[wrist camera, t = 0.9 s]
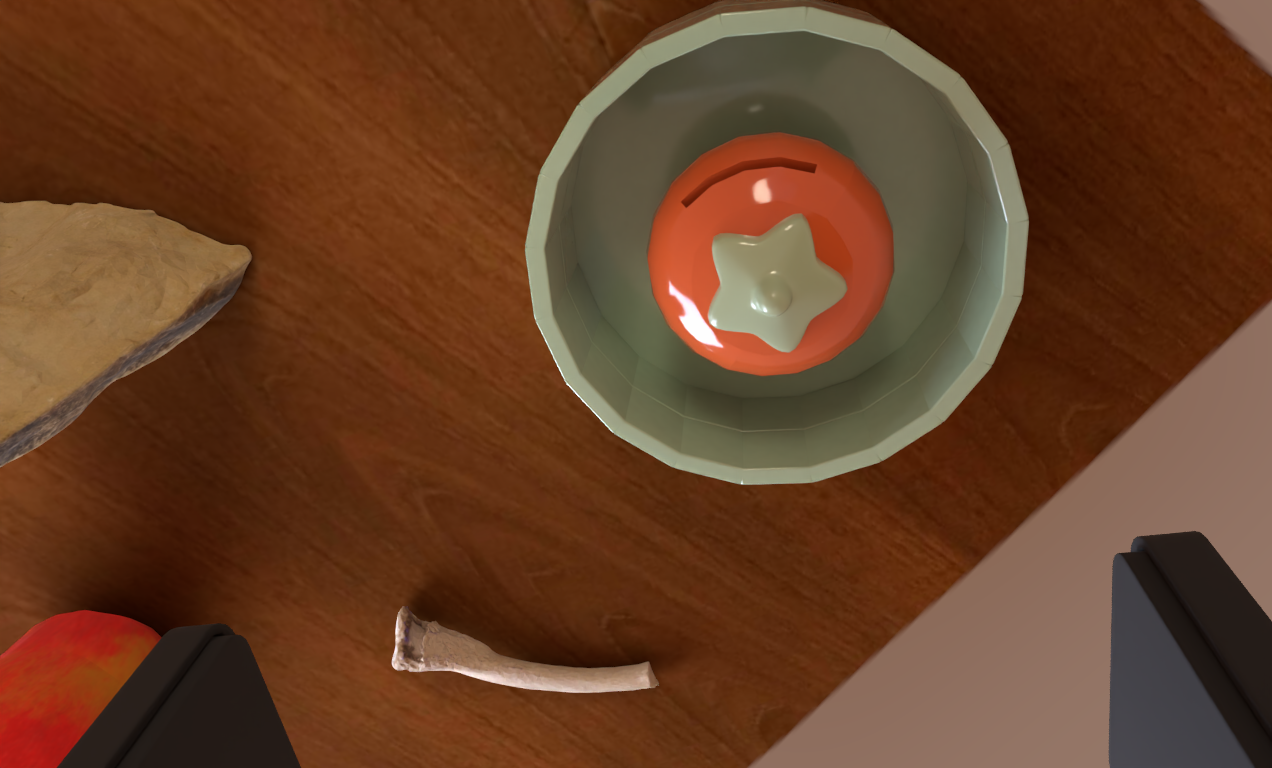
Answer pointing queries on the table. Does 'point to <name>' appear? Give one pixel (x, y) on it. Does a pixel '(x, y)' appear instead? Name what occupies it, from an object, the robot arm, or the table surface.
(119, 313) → the rock
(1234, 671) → the robot arm
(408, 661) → the bone
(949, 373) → the bowl
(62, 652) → the apple
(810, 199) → the tomato
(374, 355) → the table surface
